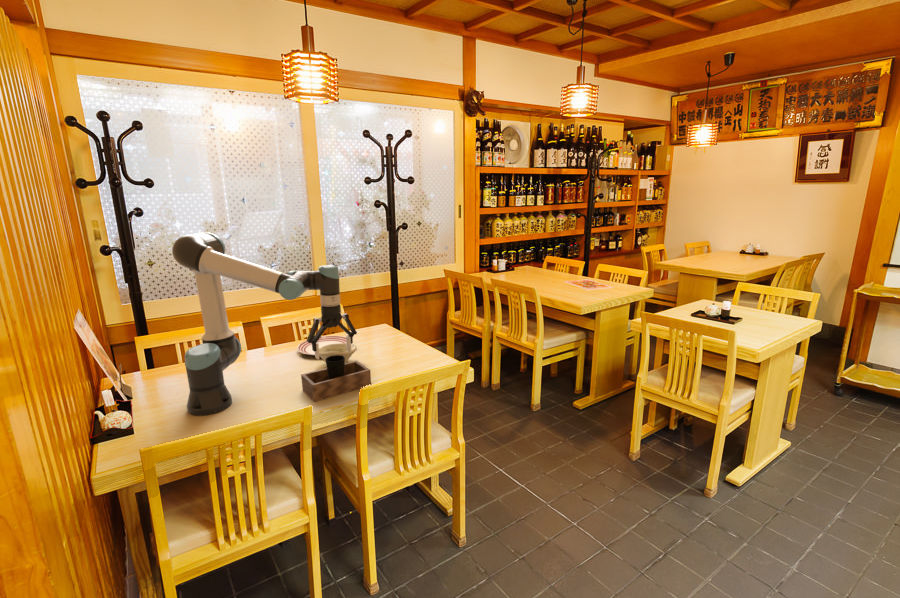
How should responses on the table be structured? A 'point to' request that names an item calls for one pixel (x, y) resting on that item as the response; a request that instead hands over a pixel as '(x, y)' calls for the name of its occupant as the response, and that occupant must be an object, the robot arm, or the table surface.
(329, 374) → the cup
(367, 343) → the table surface
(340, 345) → the bowl
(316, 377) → the open wooden box
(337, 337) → the dinner plate
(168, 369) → the table surface
